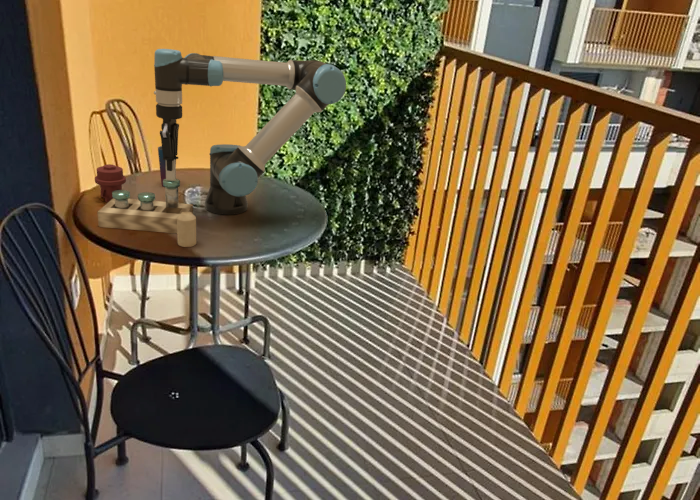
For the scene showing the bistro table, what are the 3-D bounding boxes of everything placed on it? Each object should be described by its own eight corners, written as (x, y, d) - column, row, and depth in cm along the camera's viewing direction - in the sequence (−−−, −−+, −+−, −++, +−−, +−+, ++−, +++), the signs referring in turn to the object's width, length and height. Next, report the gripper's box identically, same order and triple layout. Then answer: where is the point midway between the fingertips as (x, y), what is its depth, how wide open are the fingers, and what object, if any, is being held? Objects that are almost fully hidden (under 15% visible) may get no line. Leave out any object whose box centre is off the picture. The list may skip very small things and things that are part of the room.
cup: (174, 189, 209) (173, 151, 203) (156, 187, 209) (155, 149, 202) (179, 183, 215) (178, 146, 209) (162, 182, 215) (161, 144, 209)
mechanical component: (132, 197, 195) (116, 206, 186) (107, 193, 197) (90, 201, 188) (130, 164, 190) (114, 171, 181) (105, 160, 192) (87, 167, 183)
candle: (186, 248, 161) (185, 217, 157) (173, 243, 164) (172, 212, 160) (200, 243, 166) (199, 213, 162) (187, 238, 168) (186, 208, 164)
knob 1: (133, 215, 178) (132, 190, 175) (128, 220, 173) (126, 195, 170) (117, 213, 178) (115, 189, 174) (111, 219, 173) (109, 194, 170)
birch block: (193, 218, 184) (192, 204, 182) (182, 233, 171) (182, 219, 169) (115, 211, 182) (114, 197, 180) (98, 226, 169) (97, 211, 167)
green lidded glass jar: (158, 217, 179) (157, 193, 175) (153, 223, 174) (152, 198, 170) (142, 215, 178) (140, 191, 175) (137, 221, 174) (135, 196, 170)
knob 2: (182, 203, 177) (181, 179, 174) (178, 209, 172) (177, 183, 169) (166, 202, 177) (165, 177, 173) (161, 207, 172) (160, 182, 168)
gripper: (162, 99, 167) (164, 172, 176) (149, 106, 155) (152, 184, 165) (187, 101, 168) (188, 175, 177) (176, 109, 156) (177, 187, 165)
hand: (171, 179), depth 171 cm, fingers closed
